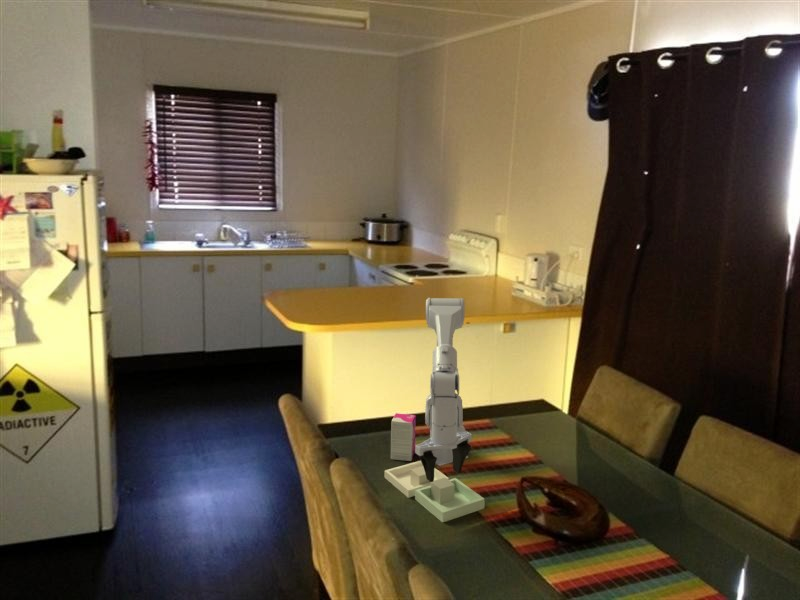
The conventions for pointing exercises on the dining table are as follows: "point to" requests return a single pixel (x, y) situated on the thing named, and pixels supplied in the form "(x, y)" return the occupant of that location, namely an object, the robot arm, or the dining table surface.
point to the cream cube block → (442, 490)
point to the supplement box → (403, 437)
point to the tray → (408, 478)
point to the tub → (451, 502)
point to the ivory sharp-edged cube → (418, 476)
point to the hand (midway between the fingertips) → (443, 475)
